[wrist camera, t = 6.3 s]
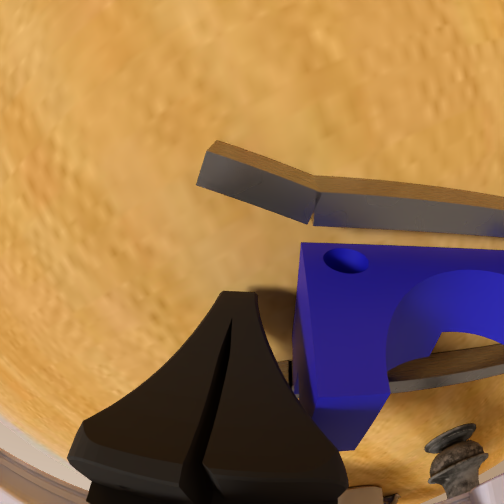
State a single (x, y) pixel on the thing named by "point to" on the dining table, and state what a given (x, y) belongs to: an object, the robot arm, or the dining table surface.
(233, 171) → the rail
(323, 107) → the dining table surface
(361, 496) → the travel mug
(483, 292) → the blue cradle block
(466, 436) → the salt shaker
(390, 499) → the snack package
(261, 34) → the dining table surface
